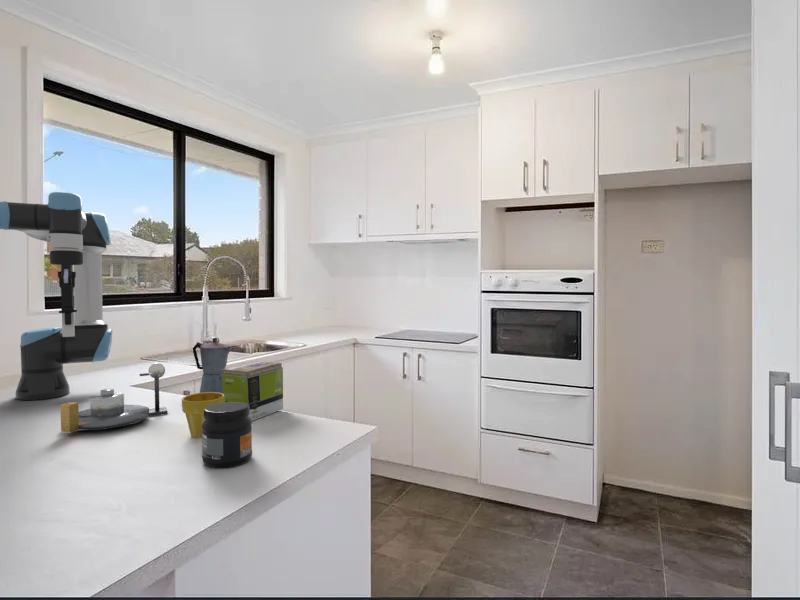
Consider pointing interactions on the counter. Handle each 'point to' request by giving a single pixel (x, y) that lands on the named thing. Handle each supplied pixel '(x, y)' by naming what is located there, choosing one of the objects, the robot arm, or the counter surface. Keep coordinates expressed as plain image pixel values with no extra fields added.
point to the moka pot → (212, 365)
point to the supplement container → (226, 434)
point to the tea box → (255, 387)
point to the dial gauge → (156, 387)
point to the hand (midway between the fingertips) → (68, 336)
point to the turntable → (84, 421)
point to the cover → (107, 404)
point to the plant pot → (199, 409)
